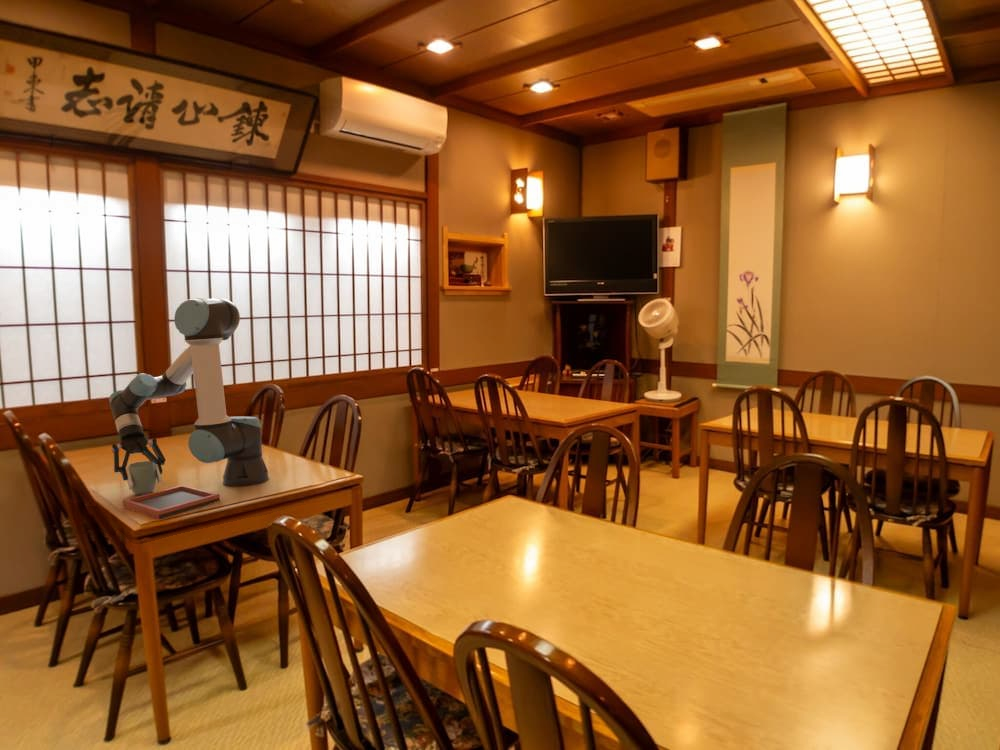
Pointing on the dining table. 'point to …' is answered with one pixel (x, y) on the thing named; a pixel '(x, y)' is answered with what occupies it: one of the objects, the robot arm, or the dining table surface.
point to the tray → (171, 501)
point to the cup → (143, 477)
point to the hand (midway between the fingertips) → (146, 484)
